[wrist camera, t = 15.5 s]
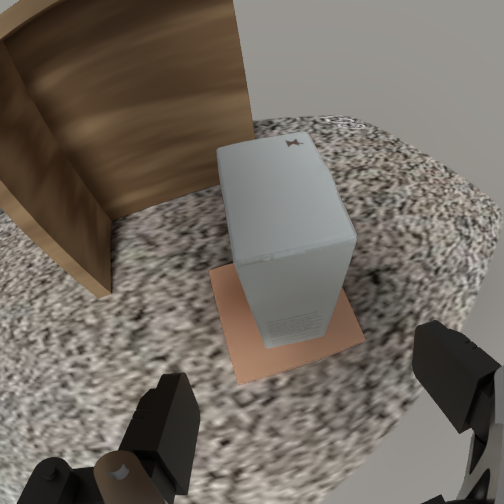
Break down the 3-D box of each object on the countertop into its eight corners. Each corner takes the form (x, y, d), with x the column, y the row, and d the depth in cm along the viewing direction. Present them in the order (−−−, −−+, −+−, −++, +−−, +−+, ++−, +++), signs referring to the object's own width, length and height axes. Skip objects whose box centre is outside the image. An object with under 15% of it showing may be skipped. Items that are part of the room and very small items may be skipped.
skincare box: (249, 274, 22) (213, 144, 12) (305, 262, 22) (309, 126, 12) (264, 352, 19) (230, 264, 9) (326, 339, 19) (364, 236, 9)
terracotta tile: (210, 274, 23) (208, 270, 23) (317, 240, 24) (317, 236, 23) (239, 385, 18) (238, 384, 18) (363, 342, 19) (365, 340, 18)
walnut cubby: (100, 215, 29) (-9, 33, 9) (255, 163, 30) (216, -65, 10) (97, 297, 23) (-84, 86, 4) (290, 238, 24) (260, -91, 5)
